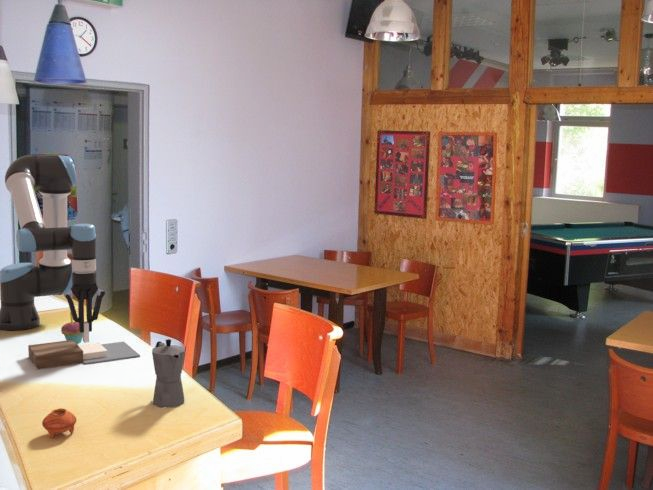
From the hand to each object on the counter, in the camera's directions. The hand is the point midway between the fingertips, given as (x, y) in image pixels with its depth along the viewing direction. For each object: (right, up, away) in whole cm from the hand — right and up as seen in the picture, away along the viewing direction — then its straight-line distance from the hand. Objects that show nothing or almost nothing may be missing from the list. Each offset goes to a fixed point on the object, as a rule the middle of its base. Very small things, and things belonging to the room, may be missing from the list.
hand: (85, 341), depth 239 cm
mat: (+5, -4, +4) cm, 8 cm away
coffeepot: (+35, -12, -37) cm, 52 cm away
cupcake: (-10, -2, +16) cm, 19 cm away
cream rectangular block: (+1, -4, +1) cm, 5 cm away
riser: (-8, -5, -4) cm, 11 cm away
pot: (+14, -15, -61) cm, 64 cm away
